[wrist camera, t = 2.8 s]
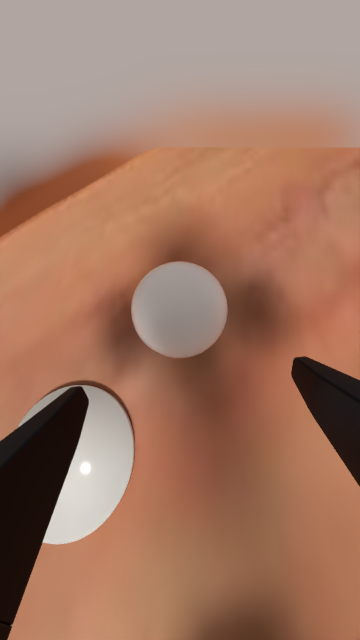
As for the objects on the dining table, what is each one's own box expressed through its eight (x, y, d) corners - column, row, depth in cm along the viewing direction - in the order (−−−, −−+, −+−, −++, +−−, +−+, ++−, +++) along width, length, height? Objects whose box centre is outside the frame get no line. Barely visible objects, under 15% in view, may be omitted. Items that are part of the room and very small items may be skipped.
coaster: (159, 478, 16) (157, 481, 15) (32, 575, 15) (26, 583, 14) (101, 362, 20) (98, 361, 19) (-4, 431, 18) (-10, 432, 18)
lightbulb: (209, 306, 21) (223, 229, 10) (221, 363, 19) (251, 338, 8) (154, 314, 21) (113, 247, 11) (159, 371, 19) (114, 357, 9)
